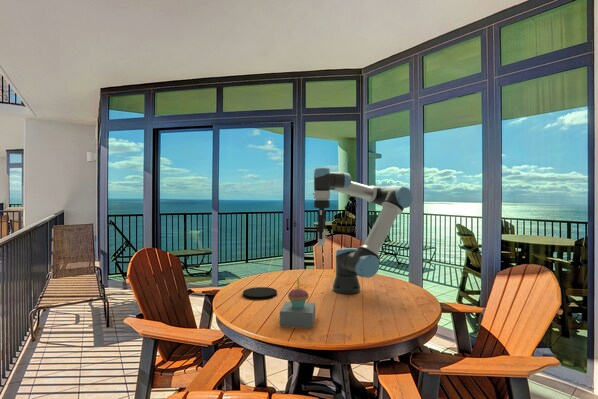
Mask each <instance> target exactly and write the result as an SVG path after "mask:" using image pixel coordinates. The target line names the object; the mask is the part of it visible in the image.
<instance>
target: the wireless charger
mask: <svg viewBox="0 0 598 399" xmlns="http://www.w3.org/2000/svg"><path fill="white" fill-rule="evenodd" d="M277 295H278V290H277V289H275V288H273V287H265V286H262V287H261V286H257V287H256V286H255V287H249V288H247V289H244V290H243V291H242V297H243V298H245V299H247V300H251V301H252V300H253V301H264V300H272V299H273V297H274V298H276V297H277ZM275 296H276V297H275Z"/></svg>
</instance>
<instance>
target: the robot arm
mask: <svg viewBox="0 0 598 399" xmlns="http://www.w3.org/2000/svg"><path fill="white" fill-rule="evenodd" d="M313 181H314V182H313V183H314V184H313V190H314V191H313V193H312V195H313V196H314V197H313V199H314V200H313V207H314V208H315V209H318V211H317V229H316V233H317V247H324V246H325V243H326V229H327V228H328V227H327V225H326V219H327V212H326V209H329V208H331V201H330V198H331V191H333V192H338V193H341V194H346V195H348V196H352V197H357V198H360V199H363V200H365V201H367V202H368V203H370V204H375V205H378V206H381V207H382V209H381V210H380V212H379V214H378V216H377V218H376V220H375V222H374V223H373V225H372V228H371V230H370V231H369V234H368V235H367V237H366V239H365V241H364V243H363V244H362V245H359V246H358V248H356V247H347V248H339V249H337V250H336V252H335V277H334V281H333V284H332V291H334V292H335V293H339V294H342V295H343V294H344V295H345V294H346V295H347V294H349V295H350V294H351V295H352V294H357V293H358V294H359V293H360V292H361V284H360V280H359V278H358V277H361V278H368V279H369V278H372V277H374V276H375V275H376V274H377V273H378V272H379V269H380V261H379V259H380V255H379V252H380V250H381V249H382V246H383V244H384V243H385V240H386V238H387V236H388V234H389V232H390V230H391V229H392V227H393V224H394V223H395V221H396V219H397V216H398V215H402V214H403V211H404V210H405V209H407V208H410V207H411V205H412V204H413V193H412V191H411V190H410V188H409V187H407V186H403V185H396V186H395V185H394V186H392V185H391V186H376V185H367V184H362V183H359V182H357V181H356V182H355V181H352V176H351V174H350V173H349V172H345V171H344V172H332V171H331V169H330V168H329V167H324V166H323V167H320V166H319V167H316V168H315V169H314V172H313Z"/></svg>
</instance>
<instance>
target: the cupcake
mask: <svg viewBox="0 0 598 399" xmlns="http://www.w3.org/2000/svg"><path fill="white" fill-rule="evenodd" d="M296 286H297V288H296V289H292V290H291V291H290V292H288V300H290V301H289V302H291V303H292V307H294V308H303V307H304V304H305V302H307V300H308V299H309V297H310V296H309V295H310V294H309V293H308V291H307V290H304V289H302V288H301V289H300V278H297V285H296Z"/></svg>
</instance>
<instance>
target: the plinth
mask: <svg viewBox="0 0 598 399" xmlns="http://www.w3.org/2000/svg"><path fill="white" fill-rule="evenodd" d="M315 320H316V302H307V301H305V304H304V307H303V308H294V307H292V303H291V301H286V300H285V302H284V303H283V305H282V307H281V309H280V311H279V327H282V328H299V329H304V328H305V329H313V327H314V324H315Z"/></svg>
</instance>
